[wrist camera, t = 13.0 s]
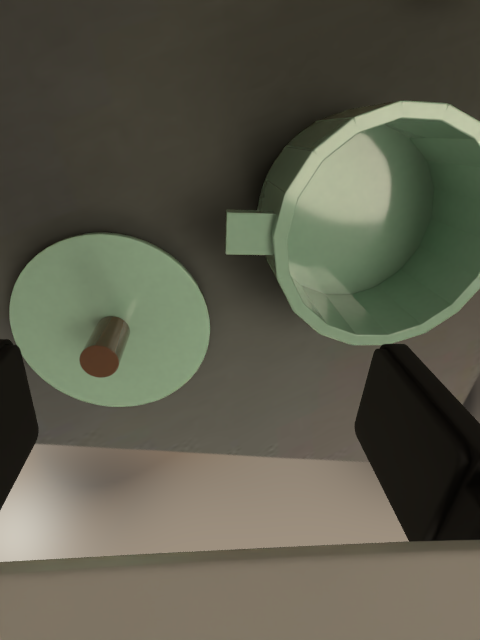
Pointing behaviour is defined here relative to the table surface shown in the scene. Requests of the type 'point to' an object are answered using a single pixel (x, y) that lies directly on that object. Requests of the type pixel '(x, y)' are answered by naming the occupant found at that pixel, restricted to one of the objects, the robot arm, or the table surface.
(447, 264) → the pot
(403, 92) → the table surface
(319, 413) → the table surface
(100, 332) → the pot lid
